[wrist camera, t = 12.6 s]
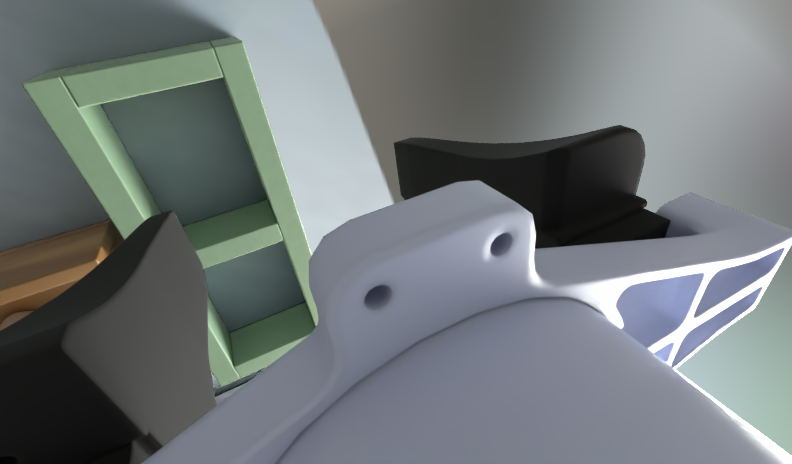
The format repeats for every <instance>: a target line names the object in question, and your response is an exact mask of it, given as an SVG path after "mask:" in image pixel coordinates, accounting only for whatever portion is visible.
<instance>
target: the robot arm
mask: <svg viewBox="0 0 792 464" xmlns="http://www.w3.org/2000/svg"><path fill="white" fill-rule="evenodd" d="M394 148H395V155H396V162H397V169H398V177H399V184H400V191H401V195H402V197H403V198H404V199H405V201H402V202H399V203H396V204H393V205H391V206H388V207H385V208H382V209H379V210H377V211H374V212H371V213H368V214H365V215H363V216H360V217H357V218H354V219H351V220H349V221H347V222H346V223H344V224H343V225H341V226H339V227H338V228H336V229H335V230H333V231H332V232H330V233H328V234H327V235H325V236H324V237H323V239H322V240H321V242H320V243H319V245H318V247H317V248H316V250H315V251H314V253H313V255H312V256H311V258H310V260H309V287H310V290H311V293H312V296H313V299H314V302H315V305H316V307H317V313H318V322H317V326H316V328H315V329H314V331H313V332H312V333H311V334H310V335H309V336H307V337H306V338H305V339H304V340H302V341H301V342H300V343H298V344H297V345H296V346H294V347H293V348H292V349H290V350H289V351H288V352H286V353H285V354H284V355H283V356H281V357H280V358H279V359H277V360H276V361H275V362H273V363H272V364H271V365H269V366H268V367H267V368H266V369H264V370H263V371H262V372H260V373H259V374H258V375H256V376H255V377H254V378H252V379H251V380H250V381H249V382H247V383H245V384H243V385H241V386H238V387H236V388H234V389H232V390H230V391H227V392H225V393H223V394H221V395H218V396H216V397H215V394H214V388H213V382H212V376H211V369H210V362H209V352H208V300H207V285H206V280H205V275H204V270H203V265H202V263H201V261H200V259H199V257H198V255H197V253H196V251H195V250H194V248H193V246H192V244H191V242H190V240H189V238H188V237H187V235H186V233H185V231H184V229H183V227H182V226H181V224H180V222H179V220H178V218H177V216H176V214H175V213H174V211H173V210H171V211H168V212H164V213H161V214H158V215H154V216H151V217H149V218H148V219H146V220H145V221H144V222H143V223H142V224H140V225H139V226H138V227H137V228H136V229H135V230H134V231H133V232H132V233H131V234H130V235H129V236H128V237H127V238H126V239H125V240H124V241H123V242H122V243H121V244H120V245H119V246H118V247H117V248H116V249H115V250H114V251H113V252H112V253H111V254H109V255H108V256H107V257H106V258H105V259H104V260H103V261H102V262H101V263H99V264H98V265H97V266H96V267H95V268H94V269H93V270H92V271H90V272H89V273H88V274H87V275H85V276H84V277H83V278H82V279H80V280H79V281H78V282H76V283H75V284H74V285H72V286H71V287H70V288H68V289H67V290H65V291H64V292H63V293H61V294H60V295H58V296H57V297H55V298H54V299H52V300H51V301H49V302H47V303H46V304H44V305H43V306H41V307H39V308H38V309H36V310H35V311H33V312H31V313H30V314H28V315H27V316H25V317H23V318H22V319H20V320H19V321H17V322H15V323H13V324H12V325H10V326H8V327H6V328H4V329H2V330H1V331H0V464H792V456H791V455H789V454H788V453H787V452H785V451H784V450H783V449H781V448H780V447H779V446H777V445H776V444H775V443H773V442H772V441H771V440H769V439H768V438H766V437H765V436H764V435H763V434H761V433H760V432H758V431H757V430H756V429H755V428H753V427H752V426H750V425H749V424H748V423H746V422H745V421H744V420H742V419H741V418H740V417H738V416H737V415H736V414H734V413H733V412H732V411H730V410H729V409H728V408H726V407H725V406H724V405H722V404H721V403H720V402H718V401H717V400H715V399H714V398H713V397H712V396H710V395H709V394H707V393H706V392H705V391H704V390H702V389H701V388H699V387H698V386H697V385H695V384H694V383H693V382H691V381H690V380H689V379H687V378H686V377H685V376H683V375H682V374H681V373H679V372H678V371H676V370H675V369H676V368H677V367H679V366H680V365H681V364H682V363H684V362H685V361H686V360H687V359H688V358H689V357H690V356H692V355H693V354H694V353H695V352H697V351H698V350H699V349H700V348H702V347H703V346H704V345H705V344H706V343H708V342H709V341H710V340H711V339H712V338H714V337H715V336H717V335H718V334H719V333H721V332H722V331H723V330H725V329H726V328H727V327H729V326H730V325H731V324H733V323H734V322H736V321H737V320H739V319H740V318H741V317H743V316H744V315H746V314H747V313H749V312H750V311H752V310H753V309H754V308H755V307H756V305H757V303H758V302H759V300H760V298H761V296H762V295H763V293H764V291H765V290H766V288H767V286H768V284H769V283H770V281H771V279H772V277H773V276H774V274H775V272H776V270H777V268H778V267H779V265H780V263H781V262H782V260H783V258H784V256H785V255H786V253H787V251H788V249H789V248H790V246H791V244H792V230H790V229H788V228H785V227H783V226H780V225H777V224H774V223H772V222H769V221H766V220H764V219H761V218H758V217H756V216H753V215H750V214H748V213H745V212H742V211H739V210H737V209H734V208H731V207H729V206H726V205H723V204H721V203H718V202H715V201H712V200H710V199H707V198H704V197H701V196H699V195H696V194H694V193H688V194H685V195H683V196H681V197H679V198H677V199H674V200H672V201H670V202H668V203H666V204H664V205H663V206H662V207H660V208H659V209H658V210H657V212H656V213H653V212H650V211H648V210H646V209H644V207H646V205H647V201H646V200H645V199H643V198H641V197H638V196H636V192H637V188H638V184H639V181H640V177H641V173H642V168H643V165H644V159H645V145H644V141H643V139H642V136H641V135H640V134H639V133H638V132H637V131H636V130H634V129H631V128H627V127H624V126H621V125H618V126H613V127H609V128H604V129H600V130H596V131H592V132H588V133H584V134H579V135H575V136H569V137H563V138H557V139H552V140H544V141H534V142H524V143H505V144H504V143H500V144H489V143H469V142H458V141H449V140H440V139H430V138H409V139H405V140H402V141H399V142H395V143H394Z"/></svg>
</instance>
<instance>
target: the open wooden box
mask: <svg viewBox="0 0 792 464" xmlns="http://www.w3.org/2000/svg"><path fill="white" fill-rule="evenodd" d="M123 241H124V239H123V238H122V236H121V235H120V233H119V232H118V230H117V229H116V227H115V226H114V224H113V223H112V221H111V220H107V221H103V222H100V223H97V224H93V225H90V226H86V227H83V228H80V229H76V230H73V231H70V232H66V233H63V234H59V235H56V236H53V237H49V238H46V239H43V240H39V241H36V242H33V243H29V244H26V245H22V246H19V247H16V248H12V249H9V250H6V251H2V252H0V325H1V323H2V322H3V321H4V320H5V319H6V318H7V317H9V316H10V315H12V314H14V313H17V312H22V311H35V310H36V309H38V308H39V307H41V306H43V305H44V304H46V303H47V302H49V301H51V300H52V299H54V298H55V297H57V296H58V295H60V294H61V293H63V292H64V291H65V290H67V289H68V288H70V287H71V286H72V285H74V284H75V283H76V282H78V281H79V280H80V279H82V278H83V277H84V276H85V275H87V274H88V273H89V272H90V271H92V270H93V269H94V268H95V267H96V266H97V265H98V264H99V263H101V262H102V261H103V260H104V259H105V258H106V257H107V256H108V255H109V254H111V253H112V252H113V251H114V250H115V249H116V248H117V247H118V246H119V245H120V244H121V243H122V242H123Z"/></svg>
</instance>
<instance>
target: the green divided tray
mask: <svg viewBox="0 0 792 464" xmlns="http://www.w3.org/2000/svg"><path fill="white" fill-rule="evenodd" d="M222 77H223V79H224V82H225V85H226V87H227V90H228V93H229V96H230V98H231V101H232V104H233V106H234V109H235V112H236V115H237V117H238V120H239V123H240V125H241V128H242V131H243V134H244V136H245V139H246V142H247V144H248V147H249V150H250V153H251V155H252V158H253V161H254V163H255V166H256V169H257V172H258V174H259V177H260V180H261V182H262V185H263V188H264V191H265V193H266V196H267V199H268V200H265V201H262V202H258V203H255V204H252V205H249V206H246V207H243V208H240V209H236V210H233V211H230V212H227V213H224V214H221V215H217V216H214V217H211V218H208V219H205V220H202V221H199V222H195V223H192V224H189V225H186V226H183V229H184V231H185V233H186V235H187V237H188V238H189V240H190V242H191V244H192V246H193V248H194V250H195V251H196V253H197V255H198V257H199V259H200V261H201V263H202V265H203V269H205V268H208V267H211V266H213V265H216V264H219V263H222V262H225V261H227V260H230V259H233V258H236V257H239V256H242V255H244V254H247V253H250V252H253V251H256V250H259V249H261V248H264V247H267V246H270V245H273V244H276V243H278V242H281V241H283V242H284V245H285V248H286V250H287V253H288V256H289V259H290V261H291V264H292V267H293V269H294V272H295V275H296V278H297V280H298V283H299V286H300V288H301V291H302V294H303V297H304V299H305V302H306V303H305V302H304V303H302V304H299V305H297V306H295V307H292V308H290V309H287V310H285V311H282V312H280V313H277V314H275V315H273V316H270V317H268V318H265V319H263V320H260V321H258V322H255V323H253V324H251V325H248V326H246V327H243V328H241V329H238V330H236V331H233V332H231V333H229V332H228V330H227V328H226V326H225V325H224V323H223V321H222V319H221V317H220V316H219V314H218V312H217V310H216V309H215V307H214V305H213V303H212V302H211V300H210V298H209V296H208V294H207V300H208V352H209V362H210V369H211V372H212V373H213V375H214V376H215V378H216V379H217V381H218V382H219V384H220V385H221V387H223V386H225V385H227V384H230V383H232V382H234V381H236V380H238V379H240V378H243V377H245V376H248V375H250V374H252V373H254V372H257V371H259V370H261V369H263V368H265V367H268V366H269V365H271V364H272V363H273V362H275V361H276V360H277V359H279V358H280V357H281V356H283V355H284V354H285V353H286V352H288V351H289V350H290V349H292V348H293V347H294V346H296V345H297V344H298V343H300V342H301V341H302V340H304V339H305V338H306V337H307V336H309V335H310V334H311V333H312V332H313V331H314V329H315V328H316V326H317V322H318V313H317V307H316V305H315V302H314V299H313V296H312V293H311V290H310V287H309V260H310V258H311V256H312V254H311V251H310V247H309V244H308V241H307V238H306V235H305V232H304V229H303V226H302V223H301V220H300V217H299V213H298V210H297V207H296V204H295V201H294V198H293V195H292V192H291V189H290V186H289V183H288V179H287V176H286V173H285V170H284V167H283V164H282V161H281V158H280V155H279V152H278V148H277V145H276V142H275V139H274V136H273V133H272V130H271V127H270V124H269V121H268V118H267V114H266V111H265V108H264V105H263V102H262V99H261V96H260V93H259V90H258V87H257V84H256V80H255V77H254V74H253V71H252V68H251V65H250V62H249V59H248V56H247V53H246V50H245V46H244V43H243V42H242V41H241V40H239V39H238V38H236V37H228V38H223V39H218V40H212V41H210V42H208V41H207V42H202V43H196V44H191V45H186V46H180V47H175V48H169V49H164V50H159V51H153V52H148V53H142V54H137V55H132V56H126V57H121V58H116V59H110V60H105V61H99V62H94V63H89V64H83V65H80V66H72V67H67V68H62V69H56V70H51V71H47V72H45V73H43V74H41V75H38V76H36V77H34V78H32V79H30V80H28V81H26V82H23V83H22V85H23V87H24V88H25V90H26V91H27V93H28V94H29V96H30V97H31V99H32V101H33V102H34V104H35V105H36V107H37V108H38V110H39V111H40V113H41V114H42V116H43V117H44V119H45V120H46V122H47V123H48V125H49V126H50V128H51V129H52V131H53V132H54V134H55V135H56V137H57V138H58V140H59V141H60V143H61V144H62V146H63V147H64V149H65V151H66V152H67V154H68V155H69V157H70V158H71V160H72V161H73V163H74V164H75V166H76V167H77V169H78V170H79V172H80V173H81V175H82V176H83V178H84V179H85V181H86V182H87V184H88V185H89V187H90V188H91V190H92V191H93V193H94V194H95V196H96V198H97V199H98V201H99V202H100V204H101V205H102V207H103V208H104V210H105V211H106V213H107V214H108V216H109V217H110V219H111V220H112V222H113V223H114V225H115V226H116V228H117V229H118V231H119V232H120V234H121V235H122V237H123V238H124V240H125V239H126V238H127V237H128V236H129V235H130V234H131V233H132V232H133V231H134V230H135V229H136V228H137V227H138V226H139V225H140V224H142V223H143V222H144V221H145V220H146V219H148V218H149V217H151V216H154V215H158V214H161V211H160V209H159V207H158V206H157V204H156V202H155V200H154V199H153V197H152V195H151V193H150V191H149V190H148V188H147V186H146V184H145V183H144V181H143V179H142V177H141V176H140V174H139V172H138V170H137V168H136V167H135V165H134V163H133V161H132V160H131V158H130V156H129V154H128V152H127V151H126V149H125V147H124V145H123V144H122V142H121V140H120V138H119V136H118V135H117V133H116V131H115V129H114V128H113V126H112V124H111V122H110V120H109V119H108V117H107V115H106V113H105V112H104V110H103V108H102V106H101V105H100V104H102V103H107V102H112V101H116V100H121V99H126V98H130V97H135V96H140V95H144V94H149V93H154V92H158V91H163V90H167V89H172V88H177V87H181V86H186V85H191V84H195V83H200V82H205V81H209V80H214V79H219V78H222Z"/></svg>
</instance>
